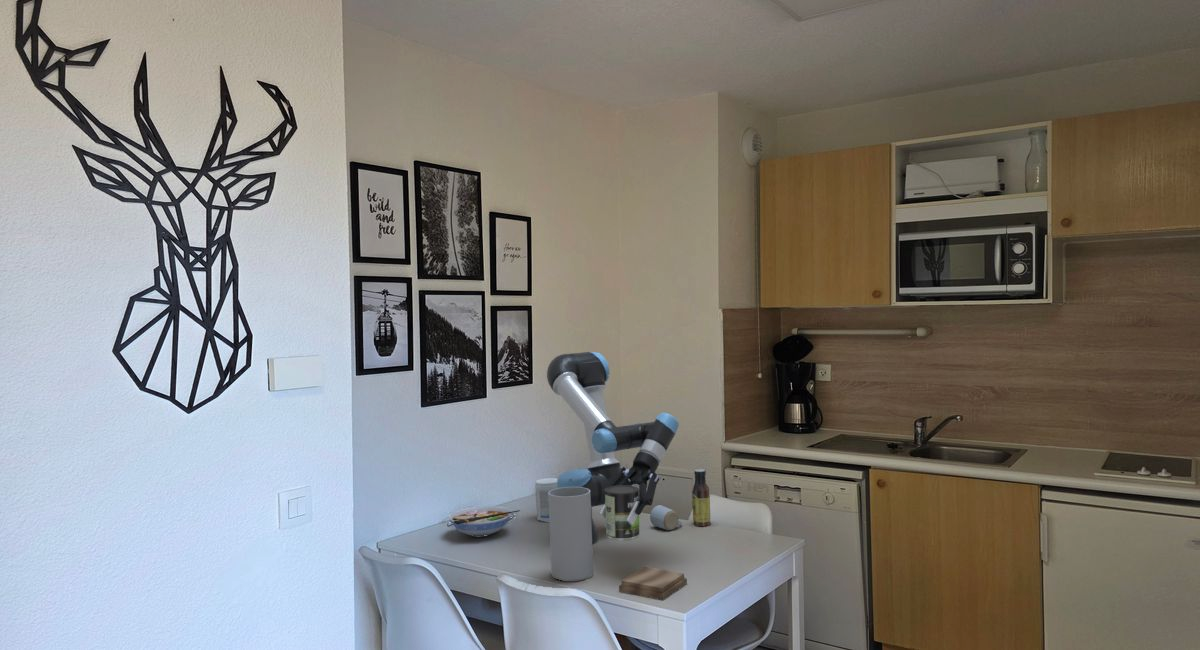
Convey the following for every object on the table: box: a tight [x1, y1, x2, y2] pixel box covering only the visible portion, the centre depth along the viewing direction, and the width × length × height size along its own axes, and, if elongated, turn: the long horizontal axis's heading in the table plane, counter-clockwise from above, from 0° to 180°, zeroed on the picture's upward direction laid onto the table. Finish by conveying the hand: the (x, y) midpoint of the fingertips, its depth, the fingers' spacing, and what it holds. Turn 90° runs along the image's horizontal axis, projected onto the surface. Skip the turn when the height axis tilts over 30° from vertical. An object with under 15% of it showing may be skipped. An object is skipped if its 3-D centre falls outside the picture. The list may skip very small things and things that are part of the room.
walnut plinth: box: [618, 566, 688, 601], centre depth 221 cm, size 14×14×3 cm
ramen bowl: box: [448, 505, 521, 537], centre depth 281 cm, size 25×23×8 cm
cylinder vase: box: [548, 487, 594, 582], centre depth 234 cm, size 12×12×25 cm
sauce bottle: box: [691, 468, 711, 527], centre depth 282 cm, size 6×6×20 cm
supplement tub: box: [534, 477, 558, 522], centre depth 298 cm, size 10×10×15 cm
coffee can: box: [605, 485, 641, 542], centre depth 235 cm, size 10×10×14 cm
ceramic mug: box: [649, 504, 683, 531], centre depth 280 cm, size 11×8×8 cm
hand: (615, 519), depth 233 cm, fingers closed on coffee can, 10 cm apart
